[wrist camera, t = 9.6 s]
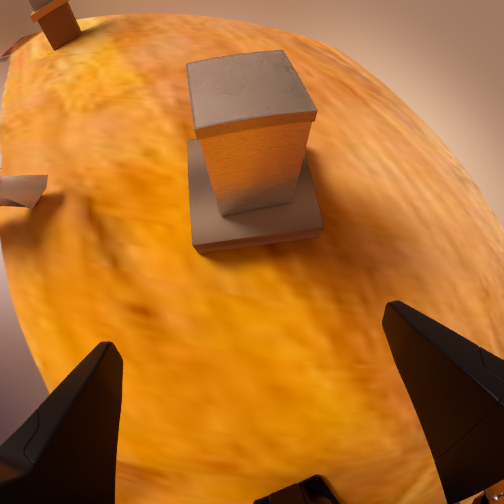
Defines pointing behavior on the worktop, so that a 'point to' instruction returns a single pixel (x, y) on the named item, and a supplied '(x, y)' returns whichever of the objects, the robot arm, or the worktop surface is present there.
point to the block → (248, 213)
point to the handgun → (22, 190)
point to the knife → (55, 21)
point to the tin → (250, 127)
